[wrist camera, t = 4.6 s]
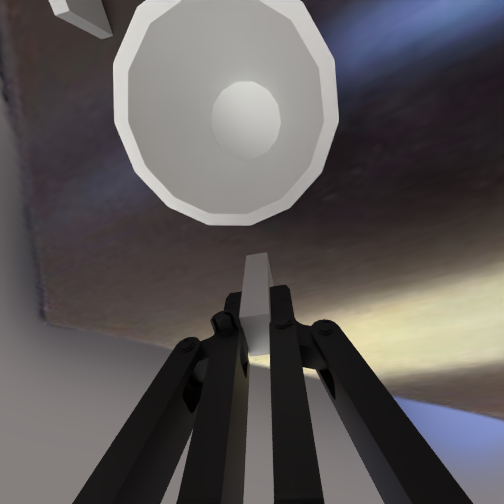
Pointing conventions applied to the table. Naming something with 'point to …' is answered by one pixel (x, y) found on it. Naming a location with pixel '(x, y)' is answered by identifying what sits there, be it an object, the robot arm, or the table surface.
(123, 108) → the foam cup
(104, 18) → the box
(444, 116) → the table surface
